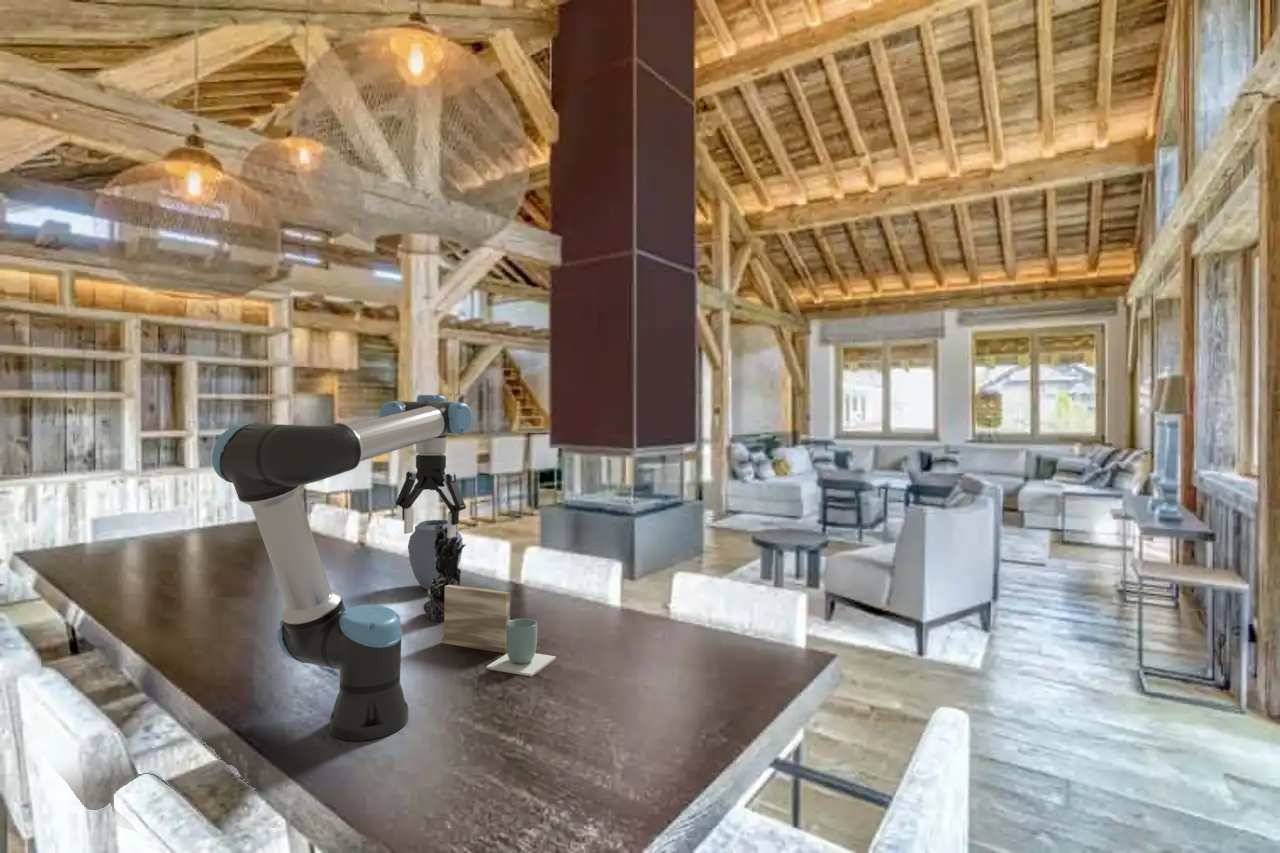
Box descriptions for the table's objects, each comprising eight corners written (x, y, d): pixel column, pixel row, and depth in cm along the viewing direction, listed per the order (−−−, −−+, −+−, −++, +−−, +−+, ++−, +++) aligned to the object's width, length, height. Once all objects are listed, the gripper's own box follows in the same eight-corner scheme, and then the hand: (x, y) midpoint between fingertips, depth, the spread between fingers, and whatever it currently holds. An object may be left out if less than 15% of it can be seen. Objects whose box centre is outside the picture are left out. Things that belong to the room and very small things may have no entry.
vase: (408, 582, 248) (409, 518, 248) (461, 580, 254) (462, 517, 254) (406, 596, 230) (407, 527, 229) (463, 593, 236) (464, 525, 235)
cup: (529, 668, 166) (530, 628, 165) (501, 665, 167) (501, 626, 167) (540, 657, 173) (541, 619, 173) (513, 654, 175) (513, 617, 175)
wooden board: (505, 653, 177) (506, 594, 177) (441, 643, 184) (442, 586, 184) (511, 650, 180) (512, 592, 179) (447, 639, 187) (448, 584, 187)
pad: (531, 676, 162) (531, 674, 162) (486, 668, 166) (486, 666, 166) (555, 658, 174) (555, 656, 174) (513, 651, 178) (513, 649, 178)
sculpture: (410, 621, 203) (411, 525, 202) (436, 607, 217) (437, 517, 217) (451, 625, 199) (453, 527, 199) (475, 611, 214) (477, 520, 214)
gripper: (480, 455, 170) (478, 536, 171) (402, 451, 179) (400, 529, 179) (462, 456, 163) (461, 541, 164) (382, 452, 172) (381, 533, 172)
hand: (429, 535), depth 171 cm, fingers open, 13 cm apart
